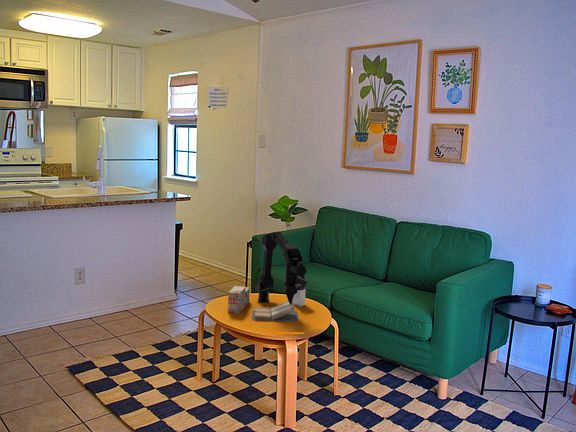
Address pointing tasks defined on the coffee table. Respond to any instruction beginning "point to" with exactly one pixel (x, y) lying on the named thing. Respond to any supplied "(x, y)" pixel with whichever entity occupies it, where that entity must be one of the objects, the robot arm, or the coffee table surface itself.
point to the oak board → (262, 313)
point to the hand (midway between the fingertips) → (289, 300)
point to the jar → (299, 296)
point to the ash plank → (282, 309)
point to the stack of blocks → (237, 299)
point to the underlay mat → (288, 317)
